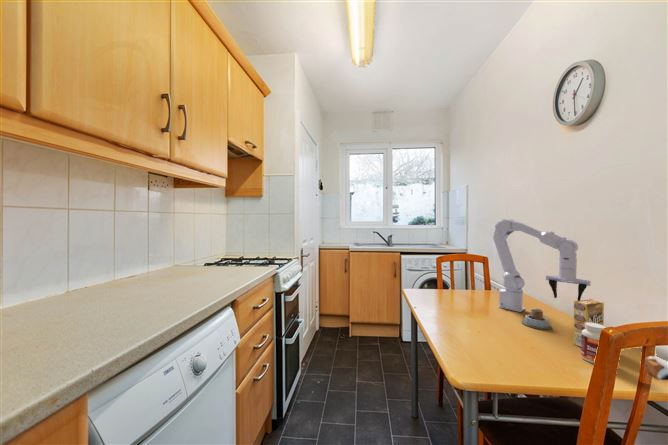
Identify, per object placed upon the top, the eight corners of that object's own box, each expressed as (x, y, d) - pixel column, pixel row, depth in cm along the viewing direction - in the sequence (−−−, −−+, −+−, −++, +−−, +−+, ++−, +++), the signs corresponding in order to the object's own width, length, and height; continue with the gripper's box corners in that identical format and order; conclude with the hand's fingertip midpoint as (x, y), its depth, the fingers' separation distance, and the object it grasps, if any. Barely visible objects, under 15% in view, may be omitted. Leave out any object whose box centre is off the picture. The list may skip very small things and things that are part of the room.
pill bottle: (585, 363, 82) (586, 326, 82) (577, 353, 87) (577, 320, 87) (613, 367, 79) (613, 330, 79) (602, 358, 85) (603, 323, 85)
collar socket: (519, 324, 112) (519, 317, 112) (524, 318, 119) (524, 312, 118) (549, 332, 104) (549, 324, 104) (553, 325, 111) (553, 318, 111)
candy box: (586, 349, 90) (587, 304, 90) (572, 344, 94) (573, 300, 94) (604, 346, 93) (605, 302, 93) (589, 341, 97) (590, 298, 97)
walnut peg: (529, 323, 112) (529, 309, 112) (531, 321, 114) (532, 307, 114) (541, 326, 109) (541, 311, 109) (543, 324, 111) (543, 309, 111)
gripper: (544, 266, 119) (544, 297, 119) (590, 271, 109) (589, 305, 109) (547, 265, 124) (546, 294, 124) (591, 269, 114) (590, 301, 114)
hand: (566, 299), depth 117 cm, fingers open, 7 cm apart
